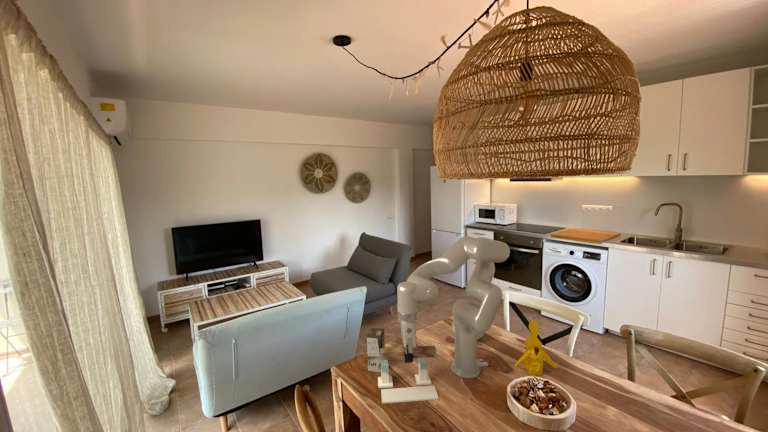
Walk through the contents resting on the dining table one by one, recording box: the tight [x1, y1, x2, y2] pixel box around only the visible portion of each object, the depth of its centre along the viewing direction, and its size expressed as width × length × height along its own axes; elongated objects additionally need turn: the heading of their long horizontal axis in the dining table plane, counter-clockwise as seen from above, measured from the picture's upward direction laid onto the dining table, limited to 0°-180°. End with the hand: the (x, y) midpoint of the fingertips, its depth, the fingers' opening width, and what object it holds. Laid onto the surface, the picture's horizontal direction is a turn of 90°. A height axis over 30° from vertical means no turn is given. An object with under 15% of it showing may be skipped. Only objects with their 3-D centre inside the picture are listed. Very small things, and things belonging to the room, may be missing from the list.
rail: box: [380, 345, 437, 361], centre depth 120 cm, size 22×3×3 cm, turn 94°
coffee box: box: [366, 327, 386, 373], centre depth 141 cm, size 9×6×16 cm
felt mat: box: [380, 385, 440, 404], centre depth 123 cm, size 22×7×1 cm, turn 93°
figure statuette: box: [514, 319, 559, 376], centre depth 134 cm, size 18×8×22 cm, turn 84°
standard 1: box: [377, 360, 394, 389], centre depth 130 cm, size 6×6×10 cm
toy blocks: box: [414, 358, 432, 387], centre depth 131 cm, size 6×6×10 cm
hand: (408, 358), depth 121 cm, fingers closed on rail, 3 cm apart
